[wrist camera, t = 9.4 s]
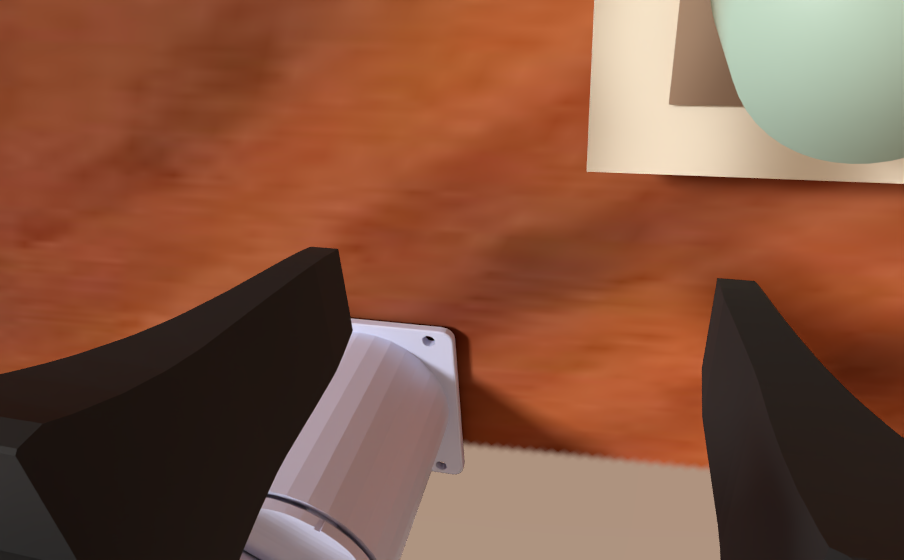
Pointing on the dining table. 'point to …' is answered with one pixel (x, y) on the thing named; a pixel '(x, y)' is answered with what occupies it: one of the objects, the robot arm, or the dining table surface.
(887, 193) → the dining table surface
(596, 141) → the birch base
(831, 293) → the dining table surface
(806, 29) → the pale green rounded cylinder
